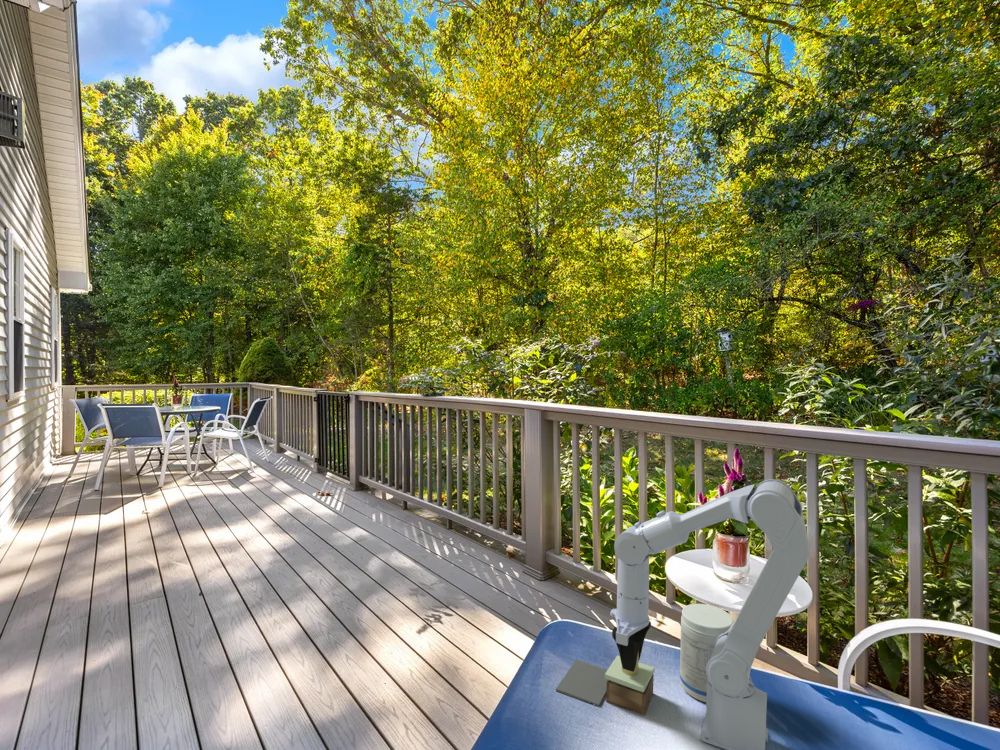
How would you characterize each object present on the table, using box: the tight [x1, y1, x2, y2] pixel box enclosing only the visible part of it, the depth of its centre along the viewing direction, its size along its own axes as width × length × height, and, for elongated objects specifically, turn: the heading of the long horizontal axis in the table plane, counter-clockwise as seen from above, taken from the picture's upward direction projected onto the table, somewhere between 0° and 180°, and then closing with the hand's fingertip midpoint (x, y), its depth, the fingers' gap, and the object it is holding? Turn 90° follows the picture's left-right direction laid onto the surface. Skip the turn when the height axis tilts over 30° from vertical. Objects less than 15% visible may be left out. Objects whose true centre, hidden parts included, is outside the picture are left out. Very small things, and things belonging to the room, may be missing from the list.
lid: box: [605, 652, 655, 692], centre depth 93 cm, size 7×7×6 cm
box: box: [605, 673, 655, 717], centre depth 94 cm, size 7×7×4 cm
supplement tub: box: [679, 603, 734, 703], centre depth 96 cm, size 10×10×15 cm
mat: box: [555, 659, 608, 707], centre depth 98 cm, size 8×11×1 cm
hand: (630, 664), depth 93 cm, fingers closed on lid, 3 cm apart
